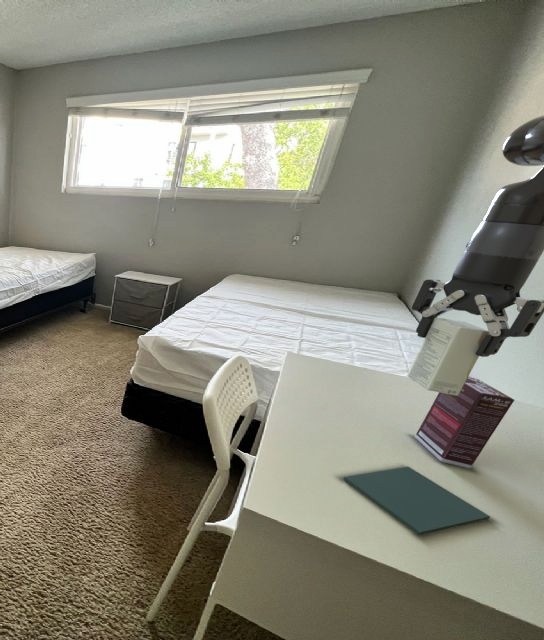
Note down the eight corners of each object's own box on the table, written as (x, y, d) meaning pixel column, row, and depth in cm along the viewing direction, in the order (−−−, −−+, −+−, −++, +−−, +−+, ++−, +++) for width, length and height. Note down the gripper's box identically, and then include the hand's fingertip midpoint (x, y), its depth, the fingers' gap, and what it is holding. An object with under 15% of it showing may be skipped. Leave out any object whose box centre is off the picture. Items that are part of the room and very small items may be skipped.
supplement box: (472, 470, 67) (517, 400, 62) (440, 462, 69) (481, 393, 63) (440, 442, 75) (478, 378, 69) (412, 436, 76) (447, 372, 71)
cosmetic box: (458, 397, 60) (496, 332, 56) (426, 391, 62) (461, 327, 57) (433, 380, 66) (465, 320, 62) (404, 375, 67) (434, 316, 63)
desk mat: (406, 468, 66) (408, 466, 66) (488, 519, 56) (490, 516, 56) (343, 479, 62) (344, 476, 62) (418, 535, 53) (420, 532, 52)
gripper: (590, 262, 50) (525, 364, 56) (458, 246, 63) (416, 330, 69) (556, 260, 48) (493, 365, 54) (428, 244, 61) (388, 330, 67)
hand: (450, 345), depth 61 cm, fingers closed on cosmetic box, 7 cm apart
